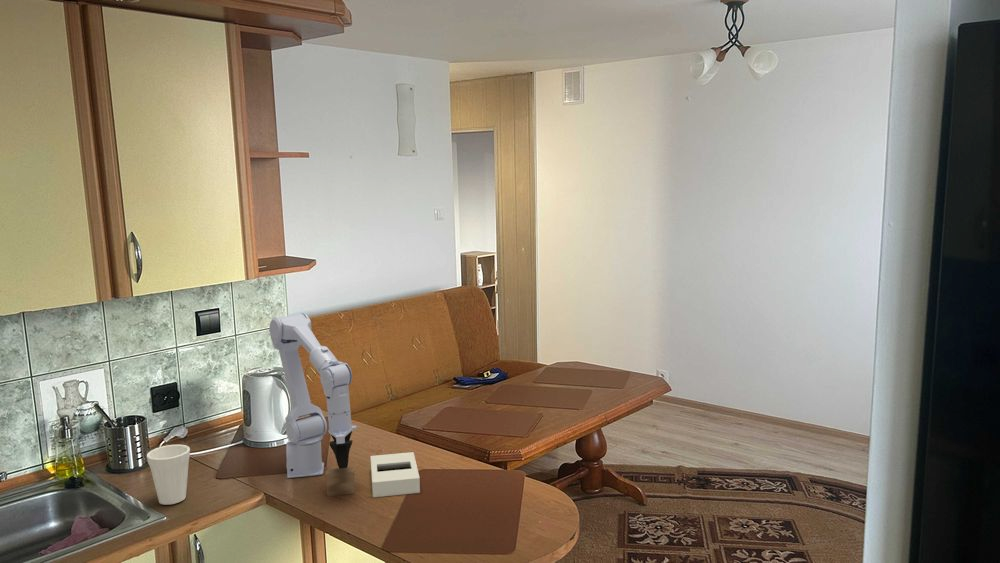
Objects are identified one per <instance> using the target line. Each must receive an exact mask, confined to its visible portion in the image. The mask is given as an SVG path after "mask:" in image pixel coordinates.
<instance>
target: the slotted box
mask: <svg viewBox="0 0 1000 563" xmlns="http://www.w3.org/2000/svg"><path fill="white" fill-rule="evenodd" d="M400 468H403V469H400ZM389 469H390V470H389ZM393 469H394V470H393ZM380 470H383V471H380ZM370 473H371V490H372V498H380V497H390V496H398V495H399V496H400V495H410V494H420V493H421V486H420V485H421V483H420V480H421V478H420V474H419V469H418V466H417V462H416V457H415V452H412V451H411V452H410V451H409V452H402V453H401V452H400V453H388V454H379V455H378V454H377V455H370Z"/></svg>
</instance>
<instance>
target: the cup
mask: <svg viewBox="0 0 1000 563" xmlns="http://www.w3.org/2000/svg"><path fill="white" fill-rule="evenodd" d="M190 454H191V448H190V446H188V445H186V444H168V445H163V446H159V447H156V448H154V449H151V450H149V452H147V454H146V460H147V463H148V465H149V467H150V471H151V475H152V479H153V484H154V488H155V492H156V496H157V499H158V503H159V504H160V505H174V504H177V503H180V502H182V501H184V500H185V499H186V496H187V487H188V473H189V461H190V458H191V455H190Z"/></svg>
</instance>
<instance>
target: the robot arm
mask: <svg viewBox="0 0 1000 563" xmlns="http://www.w3.org/2000/svg"><path fill="white" fill-rule="evenodd" d="M268 330H269V334H270V335H269V336H270V339H271V342H272V345H273V348H274V349H276V350H278V353H279V357H280V362H281V365H282V369H283V373H284V377H285V381H286V385H287V390H288V394H289V397H290V402H291V405H292V406H291V407H292V409H290V411H289V412H288V414H287V415H286V416H285V433H286V436H287V438H288V440H289V441H287V442H286V448H285V453H286V454H285V456H286V464H285V465H286V466H285V467H286V474H287V475H286V478H287V479H291V478H303V477H304V478H305V477H313V476H322V475H323V474H324V468H325V462H323V460H322V457H323V456H322V442H321V441H322V440H323V439H324V435H326V433H327V430H328V434H329V435H330V436H331V438H332V439H333V440H331V441H329V443H328V444H329V448H330V449H331V450H332V452H333V454H334V456H335V459H336V464H337V467H338V469H340V468H349V467H348V466H349V455H350V450H351V448H352V445H353V440H352V439H351V436H352V434H353V431H355V430H357V425H356V424H355V425H353V423H352V413H351V403H350V402H351V400H350V389H349V388H350V387H349V386H350V385H351V384H352V381H353V373H352V369H351V367H350V366H349V364H348V363H347V362H343V361H339V360H338V359H337V357H336V356H335V355H334V353H332V351H331V350H330V349H329V347H328V346H326V345H321V344H320V342H319V341H318V338H317V337H316V336H315V333H313V331H312V321H311V319H310V317H309V316H308V315H307V313H306V312H301V313H299V314H291V315H284V316H279V317H277V316H275V317H273V318H272V319H271V320H270V323H269V329H268ZM300 346H301V347H302V348H303V349H305V351H306V352H307V353H308V354H309V357H308V361H309V363H311V365H312V366H313V367H314V368H315V370H316V372H317V373H318V374H319V375H320V377H319V380H320V384H321V386H322V389H323V394H324V396H326V408H327V420H328V422H327V420H326V417H325V416H324V414H323V411H322V408H321V407H319V406H317V405H315V404H313V403H312V401H311V397H310V394H309V390H308V386H307V385H308V384H307V382H306V377H305V374H304V369H303V365H302V362H301V361H302V360H301V358H300V354H299V347H300ZM350 439H351V440H350Z"/></svg>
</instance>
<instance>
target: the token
mask: <svg viewBox="0 0 1000 563" xmlns="http://www.w3.org/2000/svg"><path fill="white" fill-rule="evenodd" d="M325 479H326V480H325V481H326V496H327V497H334V496H344V495H353V494H356V488H355V487H356V486H355V484H356V482H355V467H354V466H352V467H347V468H340V469H339V468H329V469H326V471H325Z"/></svg>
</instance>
